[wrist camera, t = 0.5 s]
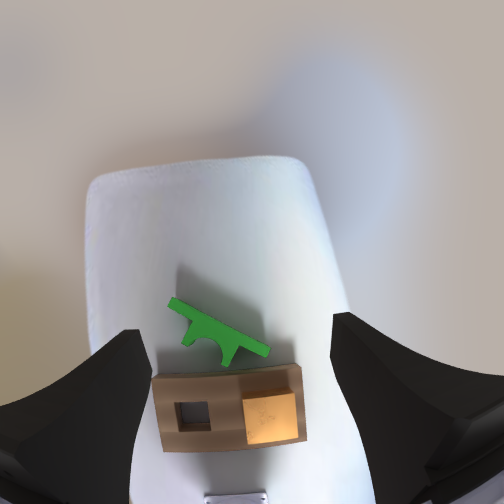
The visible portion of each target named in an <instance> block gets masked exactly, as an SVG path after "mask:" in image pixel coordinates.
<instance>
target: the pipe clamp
mask: <svg viewBox="0 0 504 504" xmlns="http://www.w3.org/2000/svg"><path fill="white" fill-rule="evenodd" d="M167 307H169V308H171V309H172V310H174V311H176V312H178V313H179V314H181V315H183V316H185V317H187V318H188V319H190V320H192V323H191V325H190V327H189V329H188V331H187V333H186V335H185V337H184V339H183V340H182V342H181V344H183V345H185V346H187V347H188V346H190V345H192V344H193V343H194V342H195V340H196V339H198V338H203V337H204V338H210V339H212V340H214V341H215V342H216V343H217V344H218V345H219V346H220V348H221V350H222V354H223V359H222V362H221V365H223V366H225V367H227V368H228V366H229V364H230V362H231V360H232V358H233V356H234V354H235V352H236V350H237V349H238V347H239V345H240V346H242V347H244V348H246V349H248V350H250V351H252V352H254V353H256V354H258V355H261V356H263V357H265V358H266V357H267V355H268V353H269V351H270V349H271V348H270V347H269V346H267V345H266V344H264V343H262V342H260V341H258V340H255V339H253V338H251V337H249V336H247V335H245V334H243V333H241V332H239V331H237V330H235V329H233V328H232V327H230V326H228V325H226V324H224V323H222V322H220V321H218V320H216V319H214V318H212V317H210V316H208V315H207V314H205V313H203V312H201V311H199V310H197V309H195V308H194V307H192V306H190V305H188V304H186V303H185V302H183V301H181V300H179V299H176V298H174V297H172V298H171V300H170V302H169V304H168V306H167Z"/></svg>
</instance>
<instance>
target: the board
mask: <svg viewBox="0 0 504 504" xmlns="http://www.w3.org/2000/svg"><path fill="white" fill-rule="evenodd" d="M151 383H152V390H153V397H154V403H155V409H156V415H157V421H158V427H159V432H160V437H161V442H162V447H163V452H219V451H234V450H246V449H256V448H264V447H272V446H279V445H286V444H292V443H298V442H303V441H307V432H306V418H305V405H304V393H303V381H302V370H301V366H299V365H297V364H296V363H293V364H286V365H279V366H271V367H263V368H254V369H244V370H233V371H221V372H206V373H187V374H158V375H156V376H155V377H153V378H152V379H151ZM283 387H290V388H291V390H292V391H293V392H294V393H295V403H296V415H297V427H298V438H293V439H287V440H280V441H273V442H266V443H258V444H248V441H247V433H246V425H245V417H244V408H243V400H242V392H251V391H260V390H269V389H276V388H283ZM201 401H207V403H208V411H209V418H210V423H183V420H182V414H181V407H180V402H201Z"/></svg>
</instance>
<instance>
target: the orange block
mask: <svg viewBox="0 0 504 504" xmlns="http://www.w3.org/2000/svg"><path fill="white" fill-rule="evenodd" d="M242 400H243V408H244V417H245V425H246V433H247V441H248V444H258V443H266V442H273V441H280V440H287V439H293V438H298V427H297V415H296V403H295V393H294V392H293V391H292V390H291V388H290V387H283V388H276V389H269V390H260V391H251V392H242Z"/></svg>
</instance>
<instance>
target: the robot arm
mask: <svg viewBox="0 0 504 504" xmlns="http://www.w3.org/2000/svg"><path fill="white" fill-rule="evenodd" d="M330 359H331V363H332V367H333V370H334V373H335V377H336V380H337V382H338V384H339V386H340V389H341V391H342V393H343V395H344V398H345V400H346V402H347V404H348V406H349V409H350V411H351V413H352V415H353V418H354V420H355V422H356V425H357V427H358V430H359V433H360V436H361V440H362V443H363V447H364V450H365V454H366V458H367V462H368V466H369V470H370V475H371V479H372V484H373V489H374V495H375V501H376V504H504V376H501V375H491V374H483V373H478V372H473V371H468V370H464V369H460V368H456V367H453V366H450V365H447V364H444V363H441V362H438V361H435V360H433V359H430V358H428V357H426V356H423V355H421V354H419V353H416V352H414V351H412V350H410V349H409V348H407V347H405V346H403V345H401V344H399V343H398V342H396V341H394V340H392V339H391V338H389V337H387V336H386V335H384V334H382V333H381V332H379V331H378V330H376V329H375V328H373V327H372V326H370V325H369V324H367V323H365V322H364V321H363V320H361V319H360V318H358V317H356V316H355V315H353V314H352V313H350V312H344V313H337V314H333V326H332V338H331V349H330ZM151 376H152V368H151V365H150V362H149V359H148V356H147V353H146V350H145V347H144V344H143V341H142V337H141V334H140V331H139V329H134V330H123V331H122V332H121V333H119V334H118V335H117V336H115V337H114V338H113V339H112V340H110V341H109V342H108V343H107V344H105V345H104V346H103V347H102V348H101V349H99V350H98V351H97V352H96V353H95V354H93V355H92V356H91V357H90V358H89V359H87V360H86V361H84V362H83V363H82V364H81V365H79V366H78V367H76V368H75V369H74V370H72V371H71V372H70V373H68V374H67V375H65V376H64V377H62V378H61V379H59V380H57V381H56V382H54V383H53V384H51V385H50V386H47V387H45V388H43V389H42V390H39V391H37V392H35V393H33V394H31V395H29V396H27V397H25V398H22V399H20V400H17V401H15V402H12V403H9V404H6V405H3V406H0V504H129V486H130V473H131V463H132V455H133V448H134V443H135V439H136V435H137V431H138V428H139V424H140V421H141V418H142V414H143V411H144V408H145V404H146V401H147V398H148V394H149V389H150V383H151ZM262 498H264V499H262ZM207 501H209V503H208V502H207ZM204 503H205V504H268V500H267V494H266V493H264V492H261V493H251V494H240V495H224V496H205V497H204Z"/></svg>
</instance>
